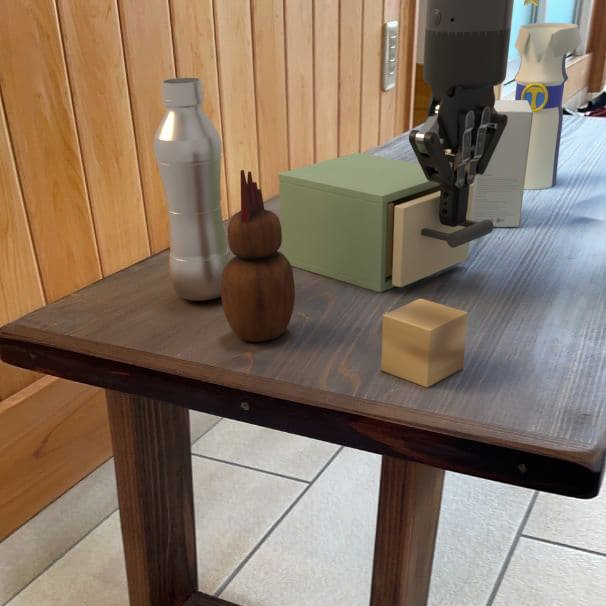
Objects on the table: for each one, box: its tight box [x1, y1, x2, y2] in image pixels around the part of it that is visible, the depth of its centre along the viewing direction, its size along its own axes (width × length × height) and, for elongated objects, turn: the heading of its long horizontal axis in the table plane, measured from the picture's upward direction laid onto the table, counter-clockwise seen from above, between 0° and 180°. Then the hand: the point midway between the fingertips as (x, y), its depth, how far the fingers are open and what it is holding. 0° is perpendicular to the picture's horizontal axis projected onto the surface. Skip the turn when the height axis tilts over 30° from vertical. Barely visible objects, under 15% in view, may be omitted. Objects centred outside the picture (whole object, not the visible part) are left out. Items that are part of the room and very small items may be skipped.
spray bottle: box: [514, 0, 583, 190], centre depth 114 cm, size 8×9×25 cm
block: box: [380, 297, 469, 388], centre depth 71 cm, size 5×5×5 cm
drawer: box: [385, 184, 495, 288], centre depth 90 cm, size 18×11×8 cm, turn 45°
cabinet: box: [278, 152, 439, 293], centre depth 93 cm, size 15×13×10 cm
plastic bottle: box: [152, 77, 232, 301], centre depth 83 cm, size 6×7×20 cm
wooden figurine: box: [220, 169, 296, 343], centre depth 76 cm, size 7×6×15 cm
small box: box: [470, 99, 533, 228], centre depth 104 cm, size 8×6×13 cm
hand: (452, 224), depth 85 cm, fingers closed
